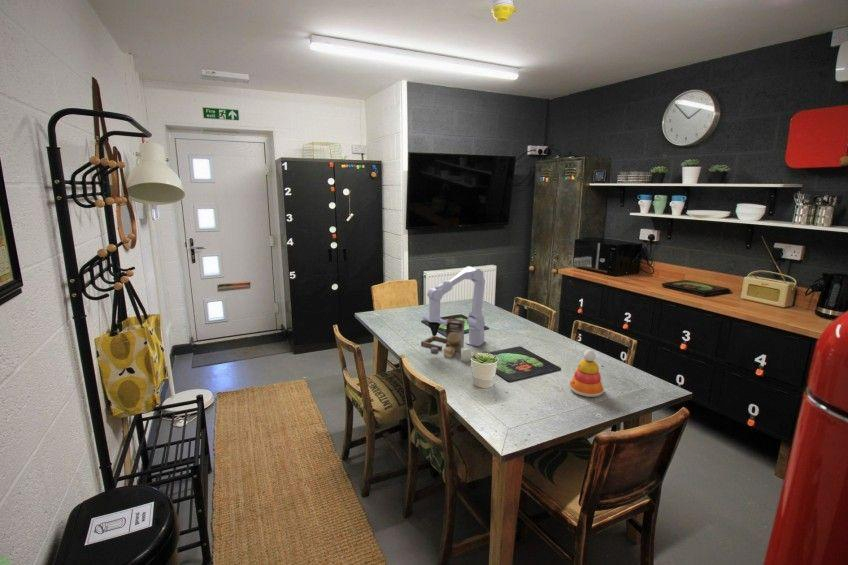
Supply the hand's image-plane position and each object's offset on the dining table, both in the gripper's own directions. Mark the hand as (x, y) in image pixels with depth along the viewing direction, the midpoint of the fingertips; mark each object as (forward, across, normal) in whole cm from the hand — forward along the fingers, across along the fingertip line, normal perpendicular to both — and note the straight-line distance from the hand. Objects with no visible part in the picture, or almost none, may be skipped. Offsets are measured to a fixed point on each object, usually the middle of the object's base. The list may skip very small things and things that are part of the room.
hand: (434, 335), depth 220 cm
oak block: (+10, +9, 0) cm, 13 cm away
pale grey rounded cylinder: (+10, +19, 0) cm, 21 cm away
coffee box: (+10, +7, +10) cm, 15 cm away
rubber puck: (+10, 0, 0) cm, 10 cm away
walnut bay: (+9, -4, +10) cm, 14 cm away
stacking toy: (+10, +78, +2) cm, 79 cm away
